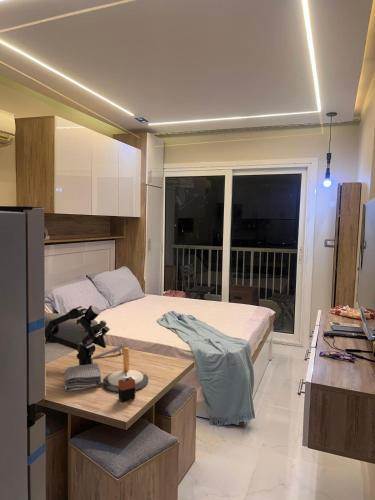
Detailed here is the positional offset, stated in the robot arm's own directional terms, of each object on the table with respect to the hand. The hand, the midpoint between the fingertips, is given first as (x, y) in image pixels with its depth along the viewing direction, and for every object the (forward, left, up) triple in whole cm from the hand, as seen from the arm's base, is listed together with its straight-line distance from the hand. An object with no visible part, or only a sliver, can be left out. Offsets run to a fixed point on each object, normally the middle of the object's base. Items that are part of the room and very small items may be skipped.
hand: (105, 347), depth 197 cm
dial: (+14, -12, -12) cm, 22 cm away
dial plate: (+14, -13, -13) cm, 23 cm away
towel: (-7, -15, -14) cm, 22 cm away
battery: (+18, -29, -14) cm, 37 cm away
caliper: (-5, +23, -14) cm, 27 cm away
